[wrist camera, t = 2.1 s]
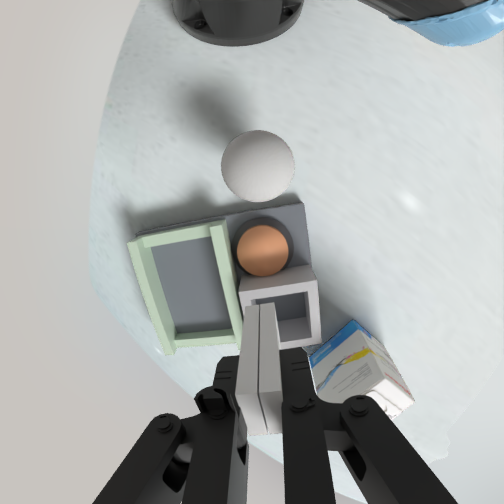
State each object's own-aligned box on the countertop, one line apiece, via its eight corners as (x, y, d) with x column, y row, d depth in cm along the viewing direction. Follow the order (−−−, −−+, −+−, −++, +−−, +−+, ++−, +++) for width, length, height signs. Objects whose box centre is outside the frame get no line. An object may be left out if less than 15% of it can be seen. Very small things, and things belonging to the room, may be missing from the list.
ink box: (306, 357, 35) (319, 422, 24) (353, 317, 33) (385, 376, 22) (343, 382, 37) (361, 441, 25) (386, 347, 35) (417, 402, 23)
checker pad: (233, 229, 28) (232, 231, 27) (283, 221, 28) (284, 223, 27) (242, 275, 30) (242, 279, 29) (290, 268, 29) (291, 272, 28)
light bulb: (222, 182, 29) (203, 189, 19) (242, 131, 27) (233, 113, 17) (274, 202, 29) (280, 219, 20) (294, 152, 27) (311, 143, 18)
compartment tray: (139, 231, 30) (117, 244, 25) (302, 202, 29) (311, 210, 24) (172, 338, 35) (160, 364, 29) (315, 321, 33) (323, 347, 28)
